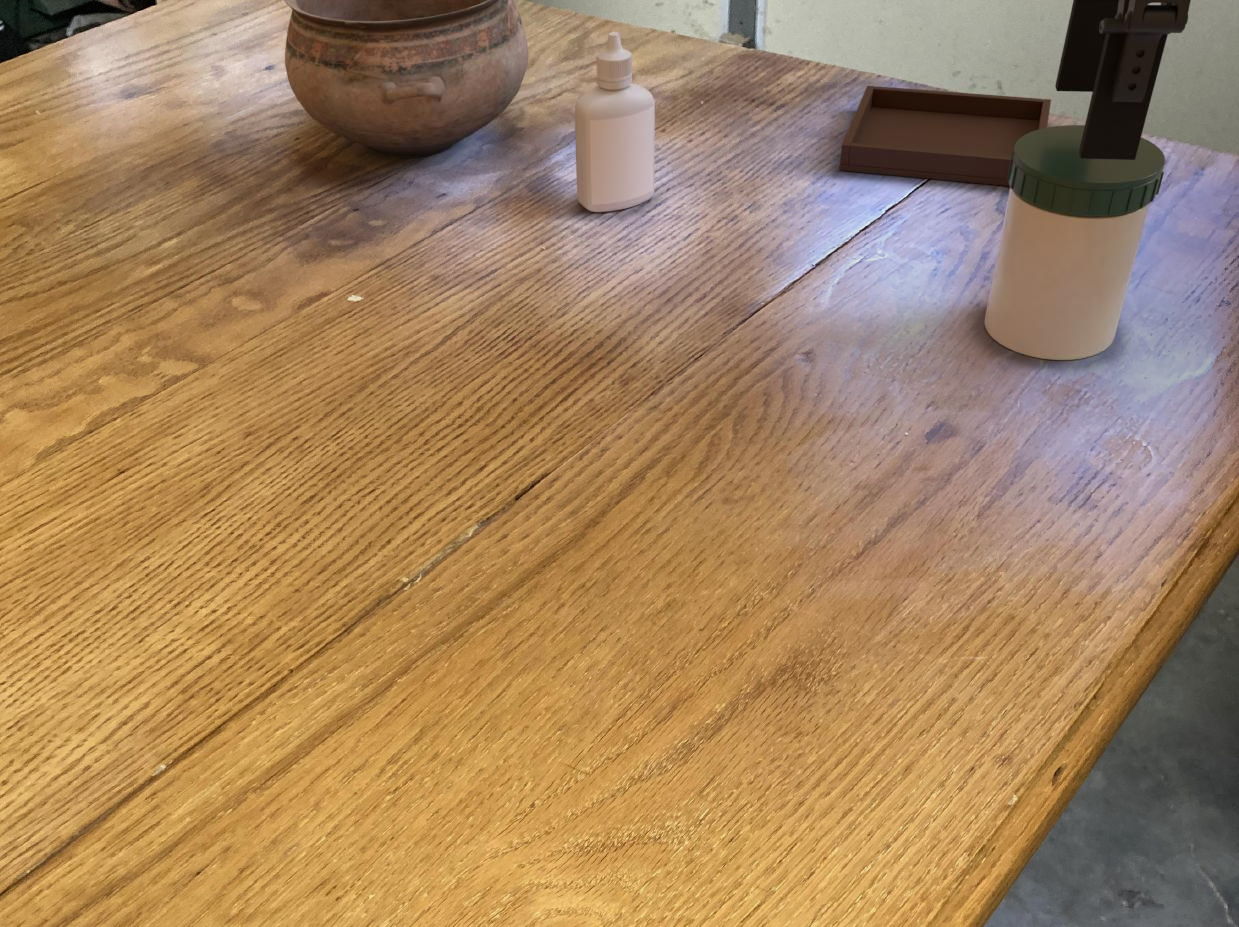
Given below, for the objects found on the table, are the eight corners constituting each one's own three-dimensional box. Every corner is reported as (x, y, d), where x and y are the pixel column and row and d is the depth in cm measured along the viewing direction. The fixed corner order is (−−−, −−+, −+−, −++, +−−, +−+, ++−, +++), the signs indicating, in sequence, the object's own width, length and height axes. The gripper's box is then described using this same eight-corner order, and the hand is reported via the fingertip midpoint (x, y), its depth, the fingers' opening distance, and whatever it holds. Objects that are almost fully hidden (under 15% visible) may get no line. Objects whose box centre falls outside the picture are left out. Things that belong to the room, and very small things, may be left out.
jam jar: (1115, 305, 82) (1159, 140, 76) (1113, 368, 77) (1159, 196, 70) (989, 291, 85) (1020, 129, 78) (978, 351, 79) (1011, 183, 72)
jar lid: (1157, 163, 77) (1166, 131, 75) (1157, 223, 71) (1167, 190, 70) (1012, 150, 79) (1018, 119, 78) (1001, 208, 73) (1007, 175, 72)
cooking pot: (555, 192, 99) (547, 24, 91) (301, 220, 97) (271, 51, 89) (512, 75, 118) (502, -73, 110) (299, 96, 116) (274, -52, 108)
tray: (1046, 124, 104) (1051, 99, 103) (1036, 189, 95) (1042, 162, 94) (864, 109, 108) (867, 85, 107) (839, 170, 99) (842, 144, 98)
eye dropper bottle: (653, 213, 95) (654, 44, 87) (575, 214, 96) (570, 45, 88) (654, 187, 99) (656, 22, 91) (579, 188, 99) (574, 23, 91)
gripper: (1381, -360, 49) (1207, 209, 64) (1244, -411, 65) (1130, 53, 80) (1169, -354, 50) (1046, 204, 65) (1086, -406, 66) (1002, 51, 81)
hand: (1092, 120), depth 72 cm, fingers open, 9 cm apart
